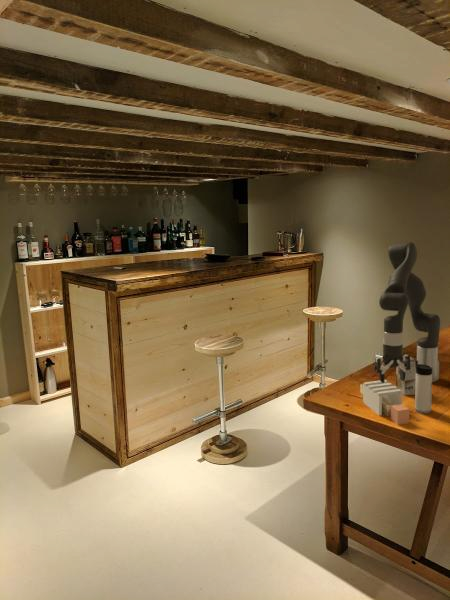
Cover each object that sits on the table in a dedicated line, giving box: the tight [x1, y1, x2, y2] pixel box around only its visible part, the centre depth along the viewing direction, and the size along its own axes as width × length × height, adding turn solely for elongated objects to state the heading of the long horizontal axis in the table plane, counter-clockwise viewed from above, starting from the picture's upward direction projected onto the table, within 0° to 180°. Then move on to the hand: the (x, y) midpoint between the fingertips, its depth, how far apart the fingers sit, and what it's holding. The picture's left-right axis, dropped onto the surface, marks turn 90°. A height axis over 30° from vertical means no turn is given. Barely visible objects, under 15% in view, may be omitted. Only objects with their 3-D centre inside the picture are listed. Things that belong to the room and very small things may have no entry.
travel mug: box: [414, 364, 433, 414], centre depth 187 cm, size 6×7×20 cm
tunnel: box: [362, 379, 403, 416], centre depth 194 cm, size 10×14×10 cm
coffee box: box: [395, 354, 418, 396], centre depth 208 cm, size 9×6×16 cm
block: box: [390, 403, 410, 426], centre depth 181 cm, size 5×5×6 cm
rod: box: [359, 383, 394, 417], centre depth 198 cm, size 4×26×4 cm, turn 9°
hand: (392, 381), depth 182 cm, fingers open, 8 cm apart
